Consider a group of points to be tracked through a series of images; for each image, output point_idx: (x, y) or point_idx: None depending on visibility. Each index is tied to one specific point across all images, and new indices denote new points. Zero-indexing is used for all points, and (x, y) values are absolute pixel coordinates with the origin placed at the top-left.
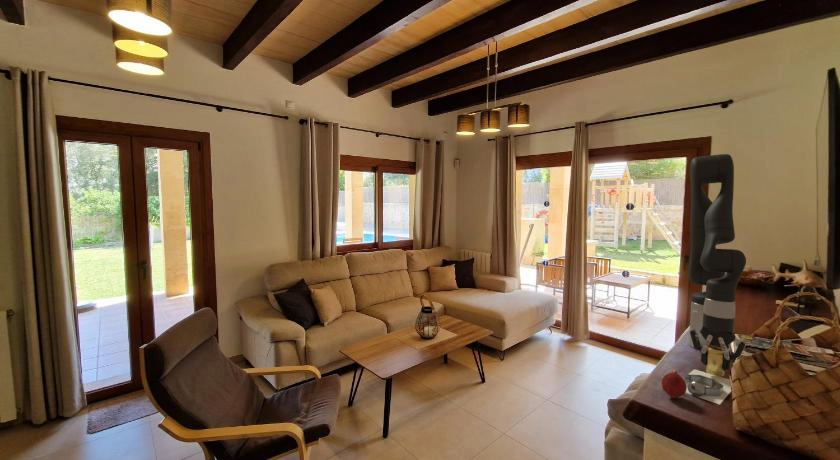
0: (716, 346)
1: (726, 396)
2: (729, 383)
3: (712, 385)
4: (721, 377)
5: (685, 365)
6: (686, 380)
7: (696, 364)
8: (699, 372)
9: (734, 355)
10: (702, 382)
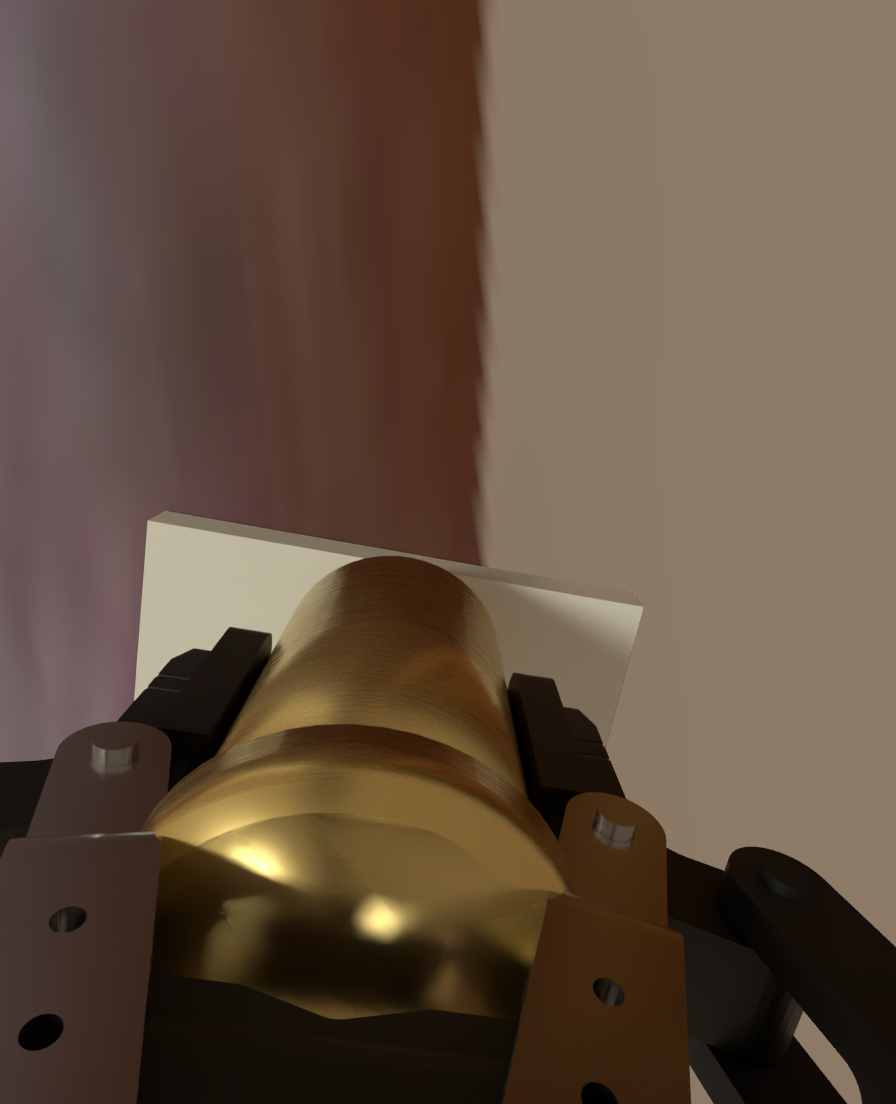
0: (321, 889)
1: None
2: None
3: None
4: (468, 582)
5: (17, 310)
6: None
7: (126, 123)
8: (223, 598)
9: (729, 1097)
10: None
